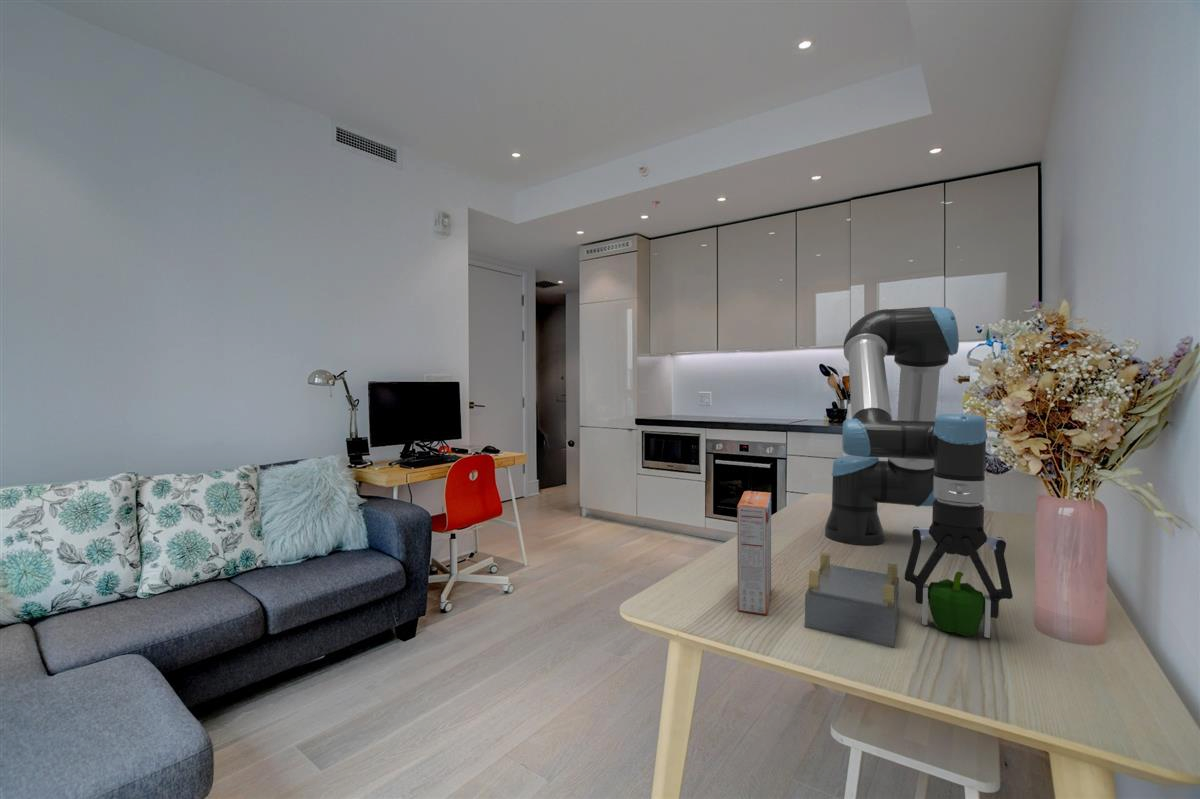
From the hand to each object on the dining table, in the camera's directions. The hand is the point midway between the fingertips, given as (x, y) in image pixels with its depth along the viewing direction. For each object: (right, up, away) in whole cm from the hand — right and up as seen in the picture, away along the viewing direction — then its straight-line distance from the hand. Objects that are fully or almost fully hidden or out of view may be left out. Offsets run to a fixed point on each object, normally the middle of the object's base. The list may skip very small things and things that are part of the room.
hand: (954, 627), depth 94 cm
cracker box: (-32, 0, +13) cm, 34 cm away
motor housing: (-15, 0, +6) cm, 16 cm away
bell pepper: (0, -1, 0) cm, 1 cm away
